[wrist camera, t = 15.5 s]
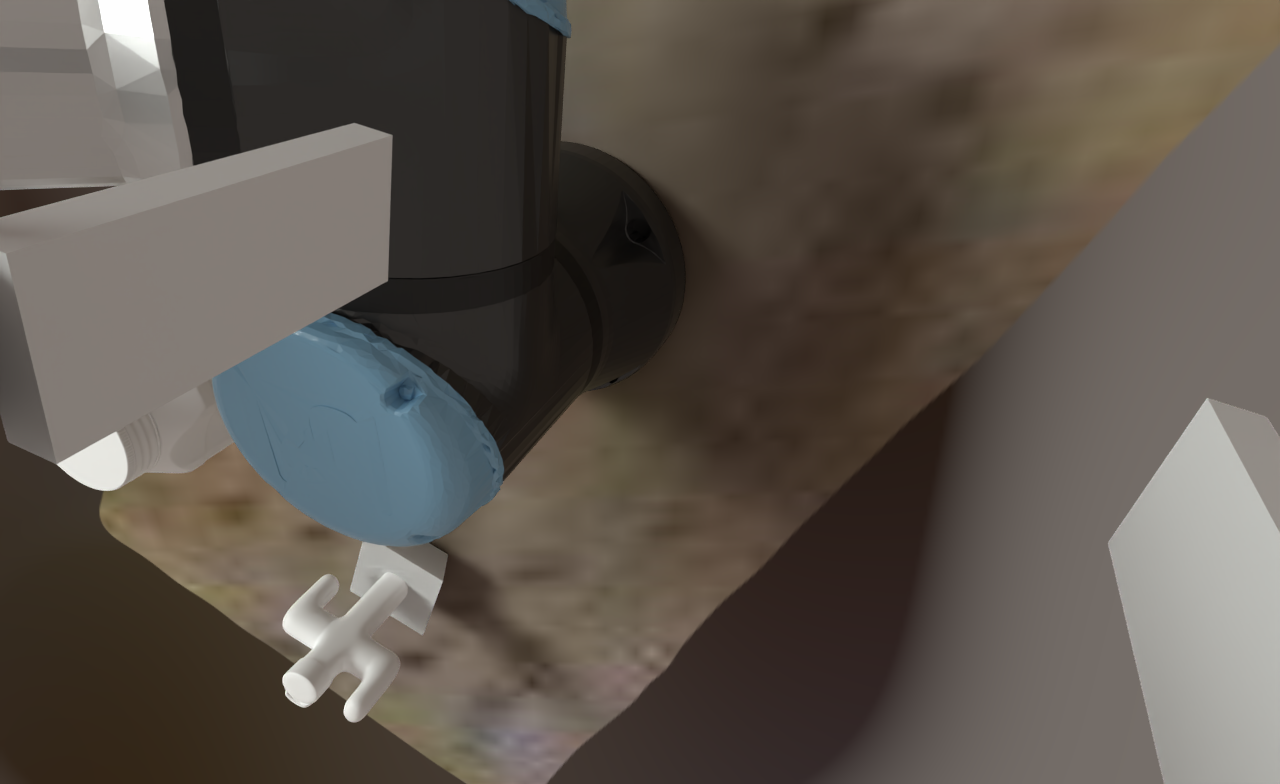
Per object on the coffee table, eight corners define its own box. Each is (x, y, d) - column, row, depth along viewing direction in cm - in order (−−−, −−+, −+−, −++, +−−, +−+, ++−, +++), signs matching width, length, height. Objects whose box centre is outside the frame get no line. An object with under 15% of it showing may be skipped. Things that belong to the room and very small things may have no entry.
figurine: (381, 500, 66) (244, 626, 54) (479, 559, 65) (363, 700, 53) (366, 556, 70) (235, 685, 58) (457, 612, 69) (345, 755, 57)
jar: (287, 425, 66) (128, 534, 53) (193, 360, 66) (13, 452, 54) (318, 321, 59) (146, 417, 47) (214, 248, 60) (15, 325, 47)
